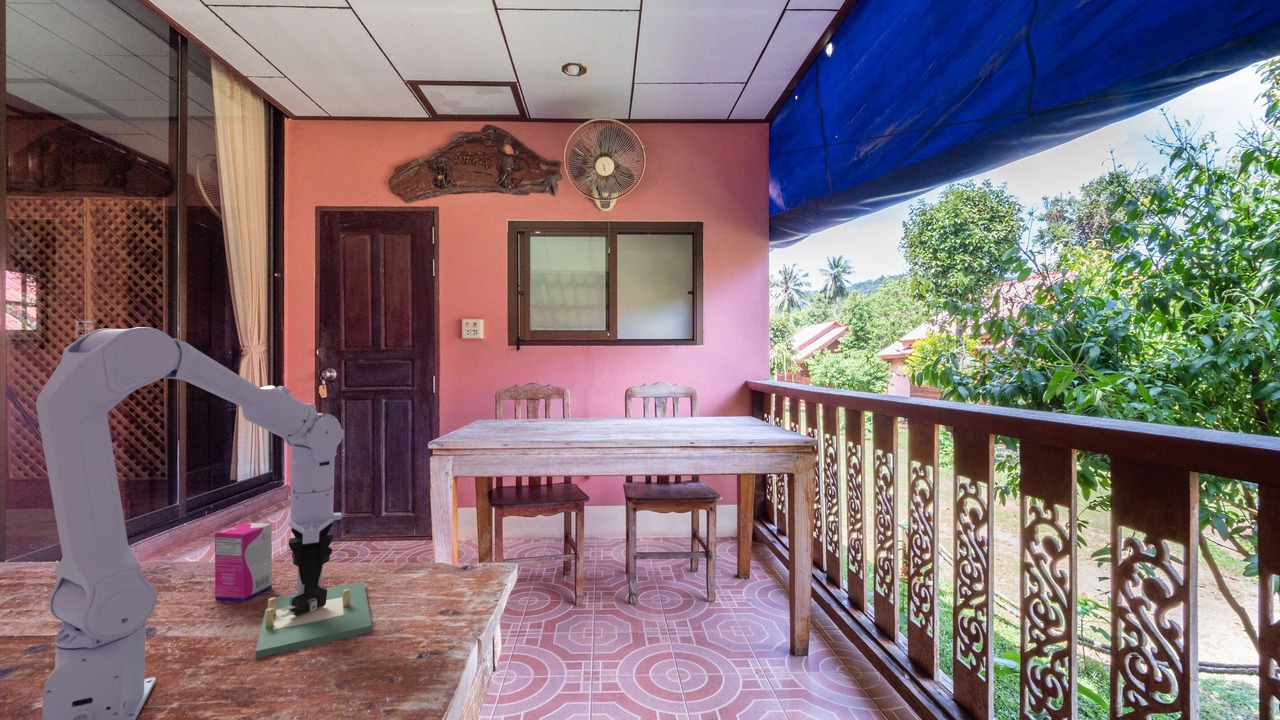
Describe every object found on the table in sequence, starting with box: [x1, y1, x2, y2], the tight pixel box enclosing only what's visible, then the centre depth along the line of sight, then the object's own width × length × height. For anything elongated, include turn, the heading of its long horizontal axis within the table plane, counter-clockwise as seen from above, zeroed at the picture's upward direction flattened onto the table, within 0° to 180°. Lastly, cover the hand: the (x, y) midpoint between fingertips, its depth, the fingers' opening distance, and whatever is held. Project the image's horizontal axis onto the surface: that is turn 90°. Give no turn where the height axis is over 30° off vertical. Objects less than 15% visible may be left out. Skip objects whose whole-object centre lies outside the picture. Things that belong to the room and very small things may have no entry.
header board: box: [255, 581, 373, 659], centre depth 81 cm, size 18×14×4 cm
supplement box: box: [214, 522, 273, 603], centre depth 89 cm, size 6×6×12 cm
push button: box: [281, 546, 333, 617], centre depth 80 cm, size 7×5×10 cm
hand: (310, 575), depth 81 cm, fingers closed on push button, 5 cm apart
